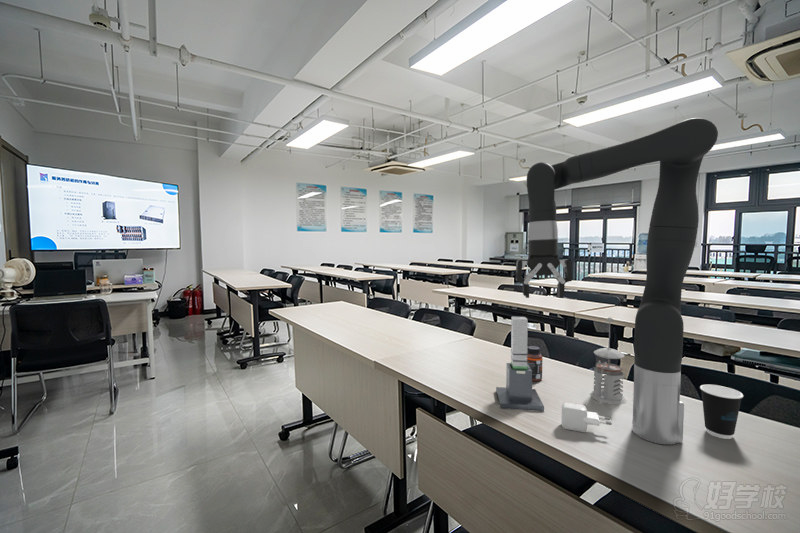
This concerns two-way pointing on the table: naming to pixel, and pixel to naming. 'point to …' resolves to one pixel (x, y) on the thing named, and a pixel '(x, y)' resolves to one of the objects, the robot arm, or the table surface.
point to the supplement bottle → (535, 362)
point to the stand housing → (519, 391)
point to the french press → (608, 376)
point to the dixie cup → (720, 410)
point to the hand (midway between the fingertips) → (543, 297)
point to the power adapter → (580, 417)
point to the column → (519, 343)
